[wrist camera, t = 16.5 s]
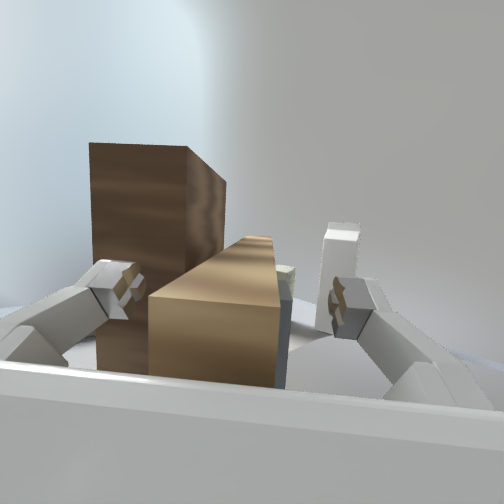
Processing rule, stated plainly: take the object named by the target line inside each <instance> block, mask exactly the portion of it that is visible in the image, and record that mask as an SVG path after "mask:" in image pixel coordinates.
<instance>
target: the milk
mask: <svg viewBox="0 0 504 504" xmlns="http://www.w3.org/2000/svg"><path fill="white" fill-rule="evenodd" d="M359 245H360V224H359V223H339V222H329V224H328V230H327V232H326V234H325V236H324V240H323V250H322V260H321V270H320V281H319V289H318V299H317V309H316V319H315V330H318V331H321V332H325V333H328V334H332V335H334V333H333V329H332V324H331V322H332V319H333V317H332V316H331V315H330V314H329V310H328V296H329V292H330V290H332V289H333V284H332V282H333V280H334V278H335V276H342V277H356V269H357V261H358V253H359Z"/></svg>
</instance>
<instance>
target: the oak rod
mask: <svg viewBox="0 0 504 504" xmlns="http://www.w3.org/2000/svg"><path fill="white" fill-rule="evenodd" d="M280 310H281V306H280V298H279V290H278V282H277V274H276V266H275V259H274V250H273V243H272V237H265V236H249V235H248V236H246V237H244V238H243V239H241V240H239V241H238V242H236V243H234V244H233V245H231V246H229V247H228V248H226V249H224V250H223V251H221V252H220V253H218V254H216V255H215V256H213V257H211V258H210V259H208V260H206V261H205V262H203V263H202V264H200V265H198V266H197V267H195V268H193V269H192V270H190V271H188V272H187V273H185V274H184V275H182V276H180V277H179V278H177V279H175V280H174V281H172V282H170V283H169V284H167V285H166V286H164V287H162V288H161V289H159V290H157V291H156V292H154V293H152V294H151V295H149V296H148V368H149V376H159V377H169V378H178V379H188V380H198V381H208V382H217V383H227V384H237V385H246V386H256V387H266V388H274V385H275V373H276V360H277V348H278V335H279V322H280Z"/></svg>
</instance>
